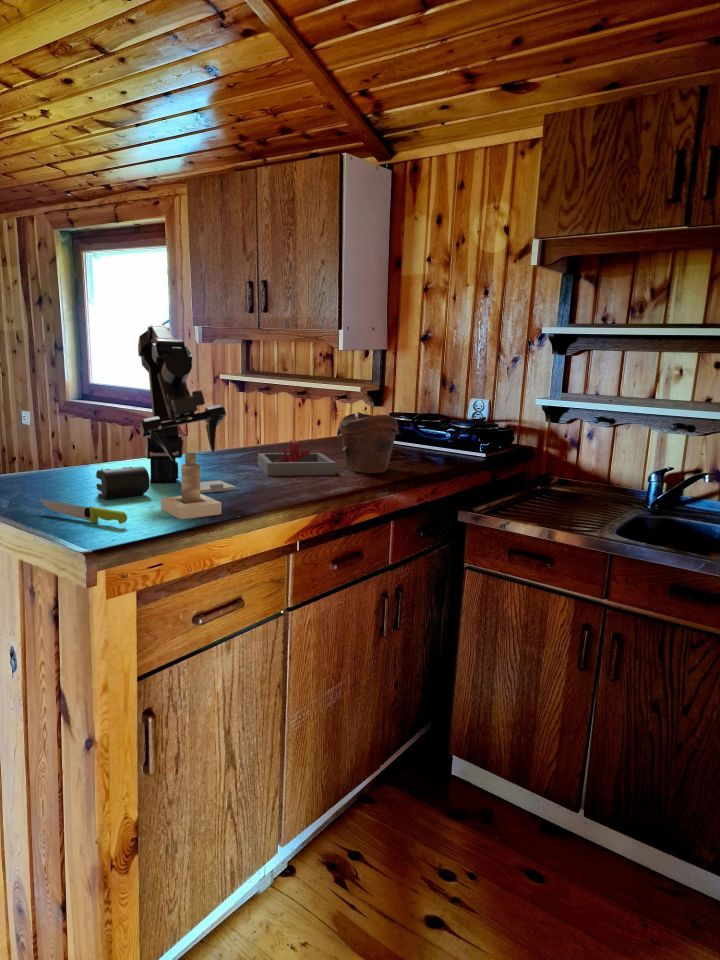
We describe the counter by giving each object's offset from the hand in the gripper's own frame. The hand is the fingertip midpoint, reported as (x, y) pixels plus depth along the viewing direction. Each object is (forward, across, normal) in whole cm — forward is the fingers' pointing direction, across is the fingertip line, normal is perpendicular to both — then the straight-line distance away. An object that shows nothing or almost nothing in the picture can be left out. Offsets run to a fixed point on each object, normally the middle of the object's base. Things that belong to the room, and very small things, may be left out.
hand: (193, 455), depth 143 cm
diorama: (+3, +33, +35) cm, 49 cm away
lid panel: (+6, +4, +14) cm, 16 cm away
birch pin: (+13, -5, -7) cm, 16 cm away
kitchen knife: (+10, -26, -9) cm, 29 cm away
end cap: (+4, -16, +10) cm, 19 cm away
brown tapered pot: (+10, +56, +32) cm, 65 cm away
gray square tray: (+4, +35, +35) cm, 50 cm away
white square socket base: (+13, -5, -7) cm, 16 cm away
